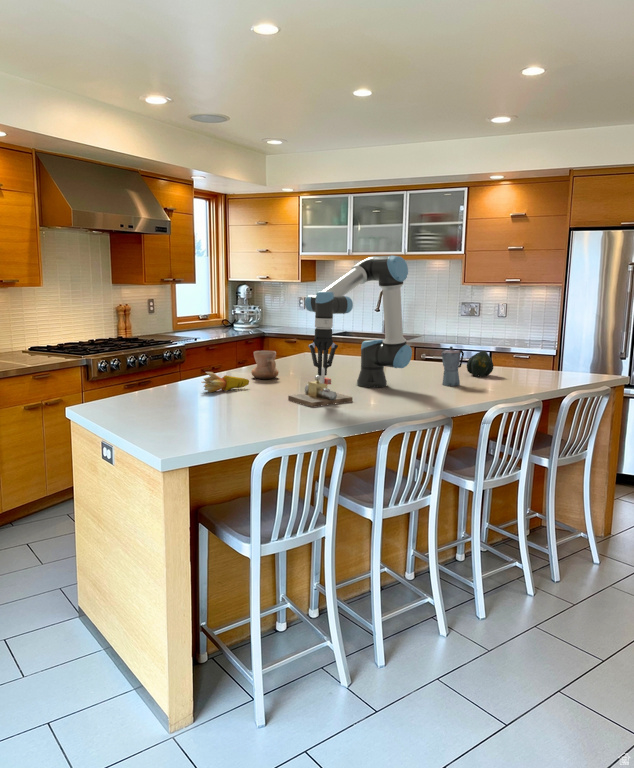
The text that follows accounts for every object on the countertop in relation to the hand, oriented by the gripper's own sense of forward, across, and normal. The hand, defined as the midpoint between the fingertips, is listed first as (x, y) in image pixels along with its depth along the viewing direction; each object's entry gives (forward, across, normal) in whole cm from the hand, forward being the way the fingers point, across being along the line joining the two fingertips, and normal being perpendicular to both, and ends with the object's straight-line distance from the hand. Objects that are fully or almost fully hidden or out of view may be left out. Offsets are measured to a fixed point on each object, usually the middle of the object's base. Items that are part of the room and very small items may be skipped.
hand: (321, 383), depth 266 cm
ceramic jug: (+9, -8, +70) cm, 71 cm away
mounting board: (+9, +2, +6) cm, 11 cm away
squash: (+8, +112, +52) cm, 123 cm away
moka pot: (+8, +80, +29) cm, 86 cm away
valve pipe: (+8, +1, +6) cm, 10 cm away
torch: (+10, -34, +40) cm, 54 cm away
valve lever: (0, +1, +3) cm, 3 cm away
